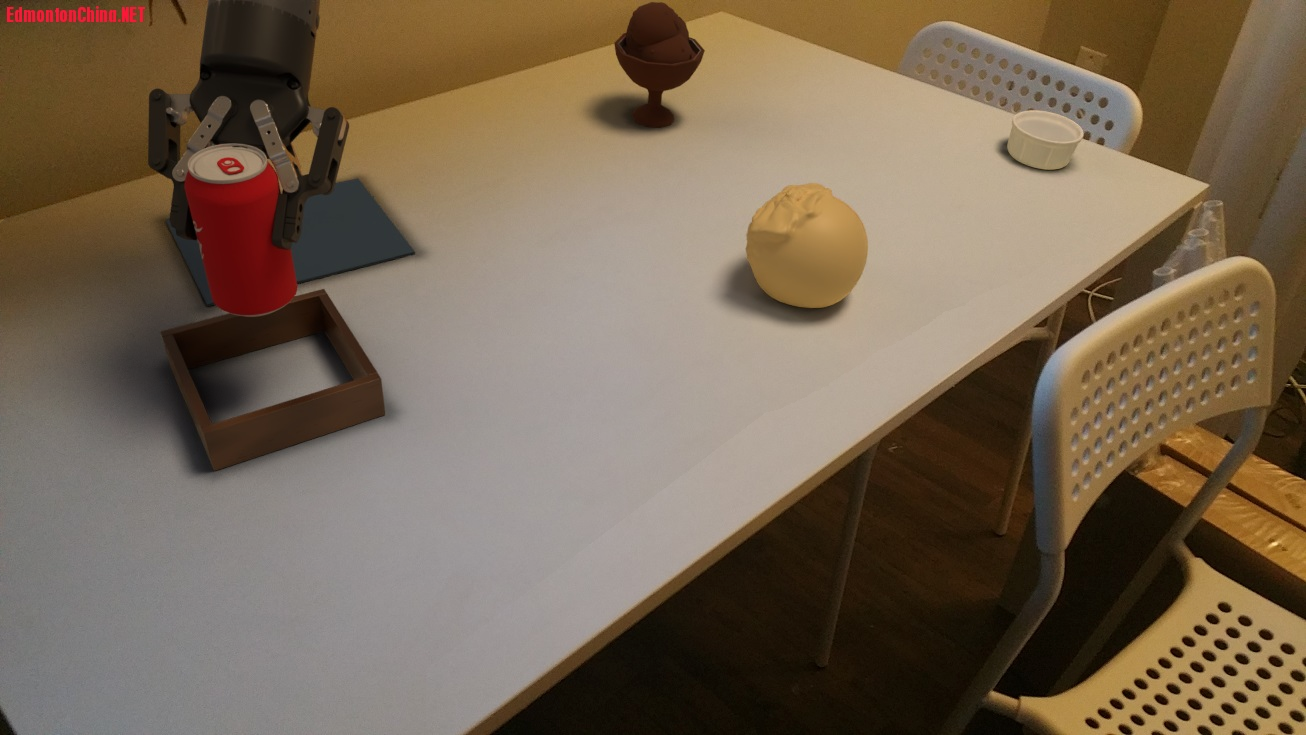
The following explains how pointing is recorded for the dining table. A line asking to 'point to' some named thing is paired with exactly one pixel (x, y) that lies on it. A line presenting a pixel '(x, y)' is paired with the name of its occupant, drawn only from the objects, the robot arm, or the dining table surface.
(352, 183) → the cloth mat
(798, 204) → the sculpture
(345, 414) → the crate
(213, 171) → the beverage can
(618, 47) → the ice cream bowl
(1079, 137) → the ramekin
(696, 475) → the dining table surface
